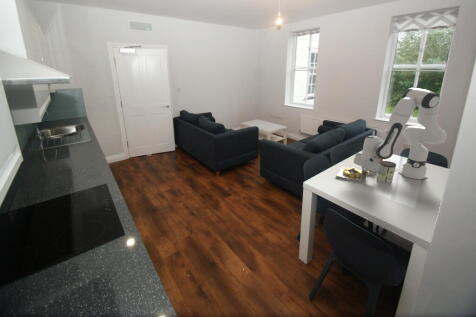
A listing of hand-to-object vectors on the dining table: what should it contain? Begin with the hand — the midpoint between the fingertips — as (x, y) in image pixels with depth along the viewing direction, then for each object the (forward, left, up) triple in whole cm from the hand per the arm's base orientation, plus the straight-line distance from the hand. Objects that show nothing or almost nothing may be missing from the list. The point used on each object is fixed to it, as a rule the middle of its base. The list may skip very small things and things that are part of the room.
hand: (364, 172), depth 182 cm
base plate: (+3, -8, -4) cm, 9 cm away
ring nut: (+3, -6, -2) cm, 6 cm away
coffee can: (-2, +14, -4) cm, 15 cm away
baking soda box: (-23, +5, -4) cm, 24 cm away
